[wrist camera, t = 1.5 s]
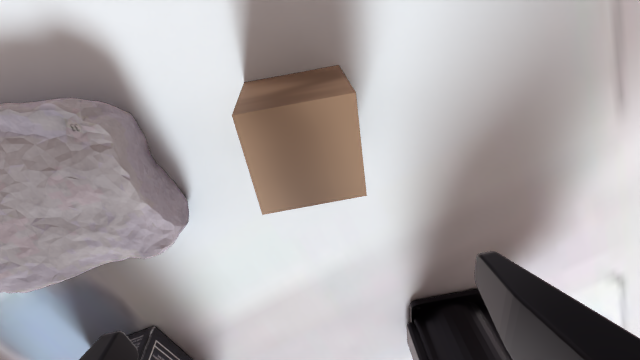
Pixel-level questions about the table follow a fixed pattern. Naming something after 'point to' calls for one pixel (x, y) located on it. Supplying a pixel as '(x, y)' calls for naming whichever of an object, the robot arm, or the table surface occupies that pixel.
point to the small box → (156, 346)
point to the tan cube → (301, 139)
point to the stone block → (78, 192)
